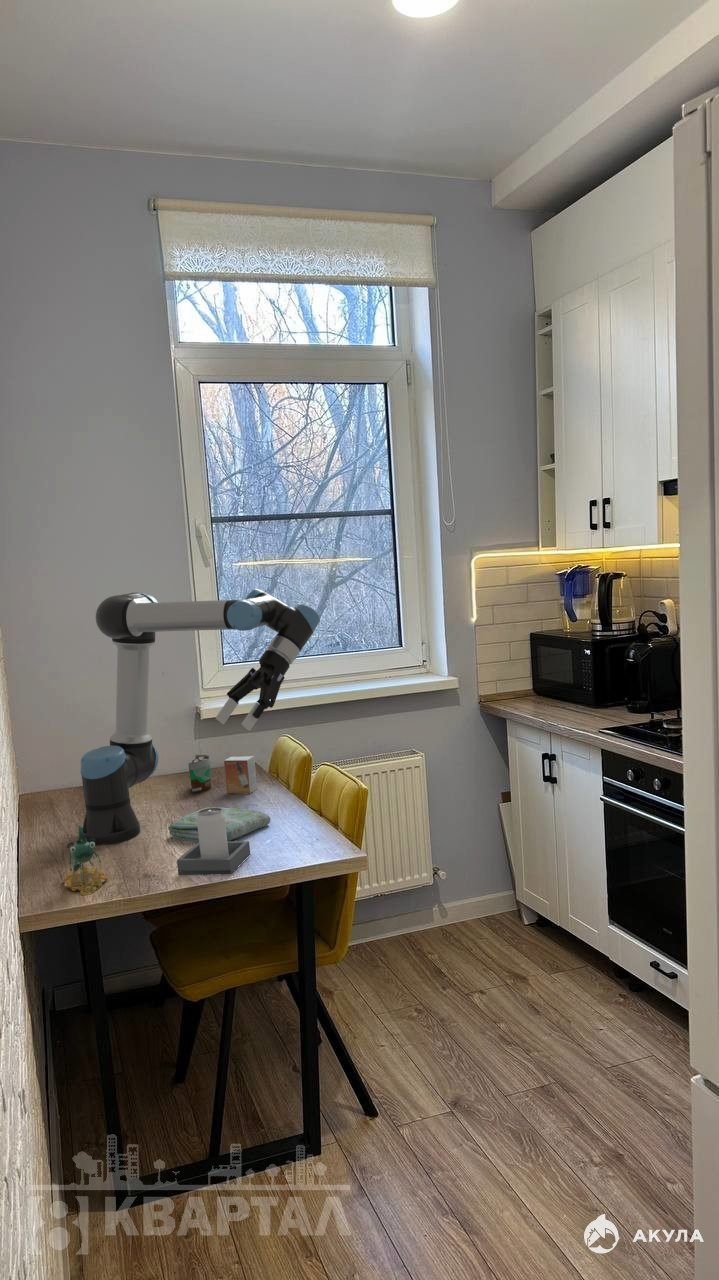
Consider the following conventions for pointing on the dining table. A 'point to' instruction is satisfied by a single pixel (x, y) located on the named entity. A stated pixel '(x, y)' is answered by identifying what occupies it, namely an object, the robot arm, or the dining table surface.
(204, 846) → the can
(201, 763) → the food container
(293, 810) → the dining table surface
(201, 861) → the tray
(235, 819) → the towel
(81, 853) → the frog figurine
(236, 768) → the small box
